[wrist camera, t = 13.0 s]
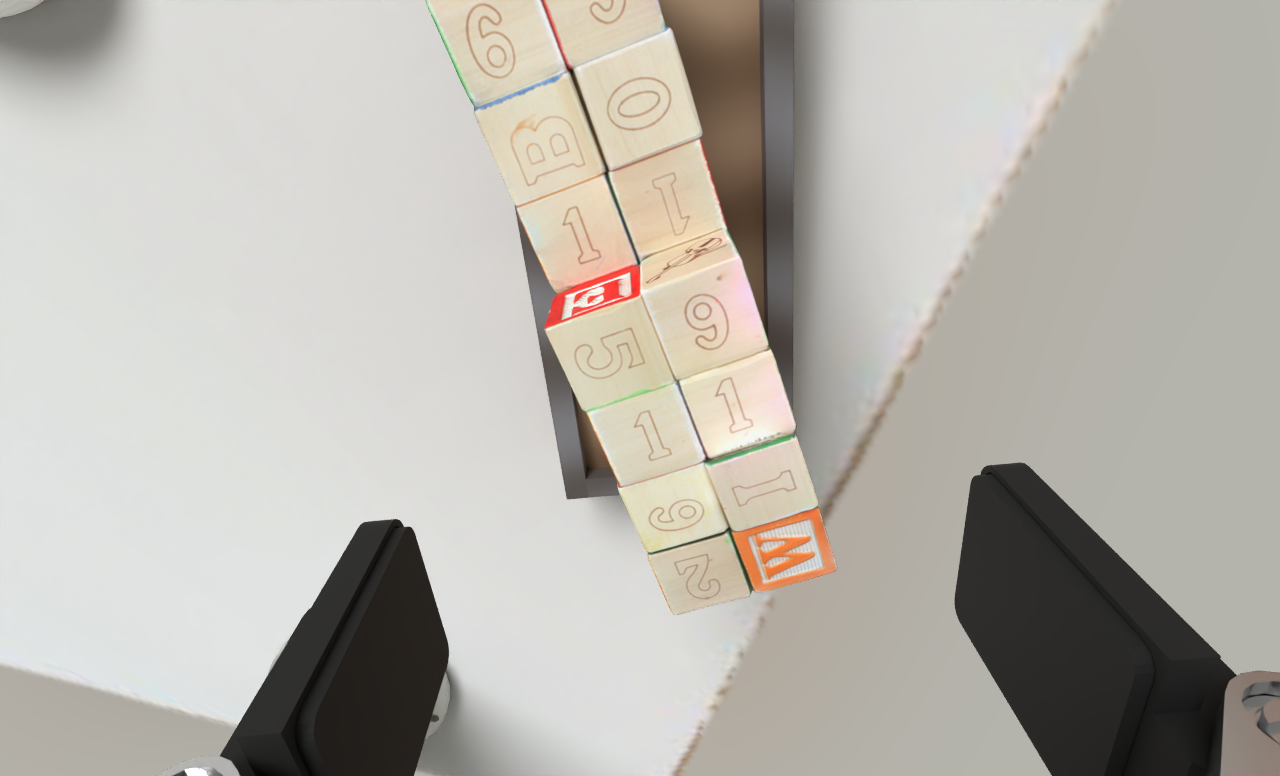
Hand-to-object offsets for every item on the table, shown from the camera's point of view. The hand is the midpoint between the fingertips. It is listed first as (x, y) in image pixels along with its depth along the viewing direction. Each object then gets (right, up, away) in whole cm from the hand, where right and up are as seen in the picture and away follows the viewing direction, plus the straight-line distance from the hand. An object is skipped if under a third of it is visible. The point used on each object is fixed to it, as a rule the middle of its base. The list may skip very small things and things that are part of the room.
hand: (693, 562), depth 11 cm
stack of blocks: (0, +10, +19) cm, 22 cm away
